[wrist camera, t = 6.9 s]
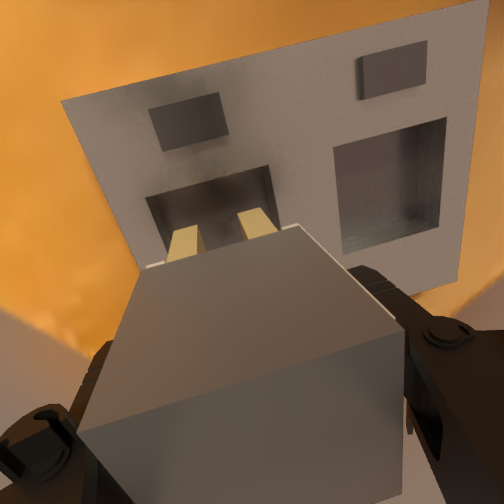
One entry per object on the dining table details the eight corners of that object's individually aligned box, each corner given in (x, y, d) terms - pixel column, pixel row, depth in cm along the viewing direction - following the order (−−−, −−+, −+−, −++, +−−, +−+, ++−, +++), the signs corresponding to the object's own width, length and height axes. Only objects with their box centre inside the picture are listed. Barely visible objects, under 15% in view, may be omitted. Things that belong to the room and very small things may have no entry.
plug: (160, 223, 12) (76, 433, 4) (267, 194, 13) (404, 329, 4) (194, 311, 15) (189, 568, 6) (285, 284, 15) (401, 494, 6)
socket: (82, 105, 14) (55, 100, 11) (447, 15, 15) (498, -7, 13) (186, 339, 21) (183, 369, 18) (430, 265, 22) (461, 283, 20)
